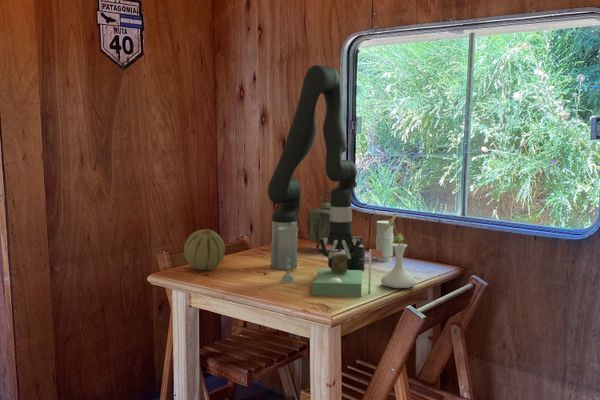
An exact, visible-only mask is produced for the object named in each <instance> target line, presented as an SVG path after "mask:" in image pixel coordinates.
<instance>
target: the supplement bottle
mask: <svg viewBox="0 0 600 400" xmlns="http://www.w3.org/2000/svg"><path fill="white" fill-rule="evenodd" d="M352 237H353V239H359V240H360V244H359V248H358V252H357V255H356V257H353V258H351V267H350V268H349V270H362V272H363V271H364V270H365V265H366V247H365V245H364V244H363V243H364V241H363V240H364V239H363V238H364V237H363V236H357V235H352ZM348 247H349V250H350V253H351V254H352V253H353V252H354V248H355V245H354V244H353V242H351V243H350V245H349V246H348Z"/></svg>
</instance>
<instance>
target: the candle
mask: <svg viewBox="0 0 600 400" xmlns="http://www.w3.org/2000/svg"><path fill="white" fill-rule="evenodd" d="M388 223H389V220H377V221H376V235H375V246H376V249H378V250H382V257H376V260H377V262H378V261H379V262H391V261H392V260H393V259H392V257H393V256H394V248H393V246H392V244H395V243H393V240H394V239H395V236H394V226H393V225H391V226H390V227H389V229H388V230H387V231H386V232H385V233H384V231H383V230H384V229H385V226H386V225H387V224H388Z"/></svg>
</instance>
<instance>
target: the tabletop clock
mask: <svg viewBox="0 0 600 400" xmlns="http://www.w3.org/2000/svg"><path fill="white" fill-rule="evenodd" d="M322 194H329V195H331V191H322V192H320V193H319V195H318V197H319V199H320V200H321V201H322V203H321V205H320V207H318V208H314V209H312V210H309V213H308V216H307V237H308V240H309V241H310V242H312V243H314V244H315V243H317V244H316V245H315V247H316V249H320V247H321V244H320V239H321V238H328V236H329V213H330V199H328V198H327V197H326V198H322ZM326 245H331V244H330V243H329V241H327V244H326ZM320 250H321V252H322V248H321V249H320ZM337 251H338V252H341V251H343V250H342V249H337Z"/></svg>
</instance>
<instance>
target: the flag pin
mask: <svg viewBox="0 0 600 400" xmlns="http://www.w3.org/2000/svg"><path fill="white" fill-rule="evenodd" d="M378 257H382V250H378V249H373V248H370V249H369V250H368V287H367V291H368V294H371V280H372V279H371V277H372V276H371V274H372V273H371V272H372V258H378Z"/></svg>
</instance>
